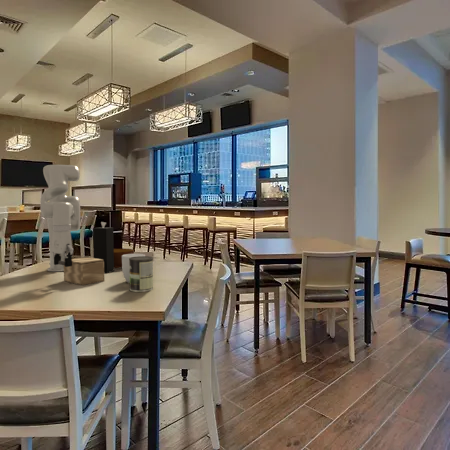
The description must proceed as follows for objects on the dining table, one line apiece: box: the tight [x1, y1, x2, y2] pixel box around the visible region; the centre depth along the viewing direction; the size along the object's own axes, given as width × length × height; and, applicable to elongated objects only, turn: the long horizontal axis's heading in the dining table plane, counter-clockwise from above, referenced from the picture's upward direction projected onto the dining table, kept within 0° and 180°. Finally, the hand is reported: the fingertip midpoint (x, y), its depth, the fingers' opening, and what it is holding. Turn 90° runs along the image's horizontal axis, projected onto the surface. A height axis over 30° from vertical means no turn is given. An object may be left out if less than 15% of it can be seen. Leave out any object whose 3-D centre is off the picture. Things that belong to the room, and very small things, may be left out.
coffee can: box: [129, 255, 154, 293], centre depth 158 cm, size 10×10×14 cm
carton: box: [63, 261, 105, 286], centre depth 176 cm, size 16×12×10 cm
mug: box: [121, 253, 146, 284], centre depth 175 cm, size 15×11×13 cm
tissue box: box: [92, 221, 115, 274], centre depth 199 cm, size 8×8×28 cm
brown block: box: [114, 248, 135, 269], centre depth 215 cm, size 18×18×10 cm
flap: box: [58, 256, 103, 265], centre depth 173 cm, size 15×18×2 cm
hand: (62, 265), depth 167 cm, fingers open, 9 cm apart
